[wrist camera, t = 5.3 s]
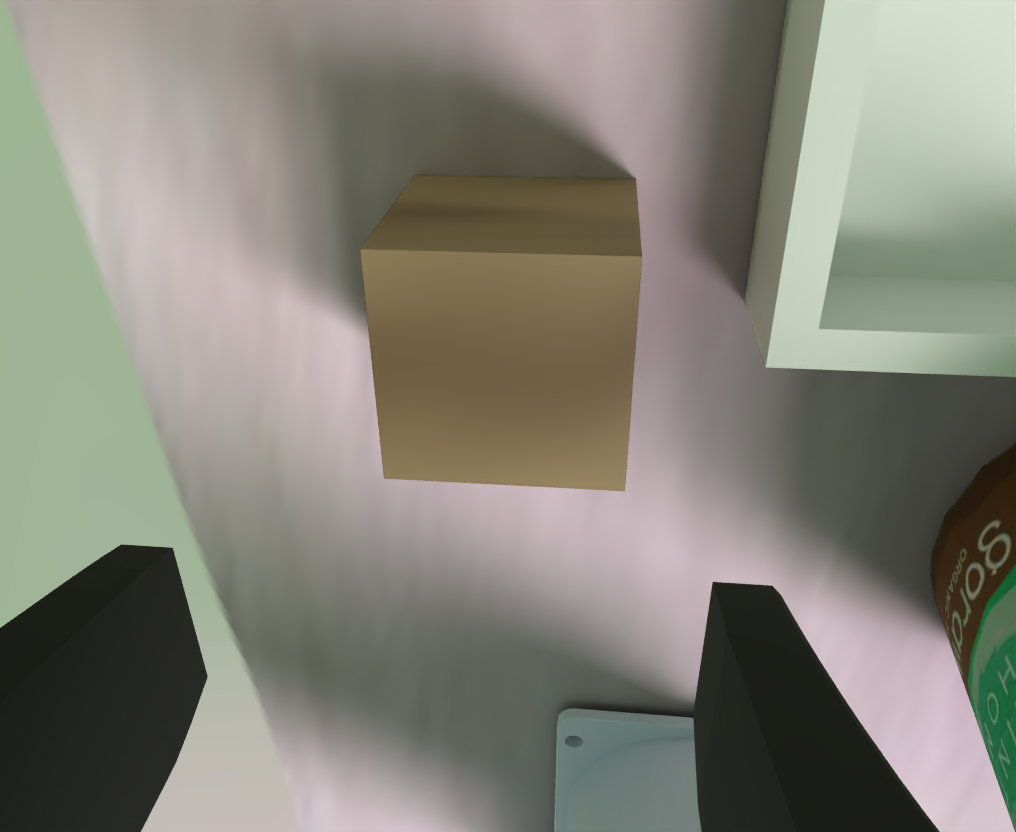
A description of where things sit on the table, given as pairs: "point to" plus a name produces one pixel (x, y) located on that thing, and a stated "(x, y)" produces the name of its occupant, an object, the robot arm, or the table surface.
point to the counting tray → (890, 190)
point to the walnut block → (505, 329)
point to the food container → (984, 606)
